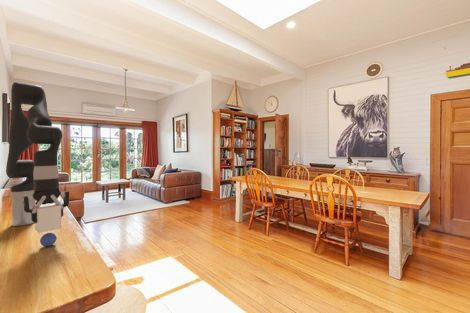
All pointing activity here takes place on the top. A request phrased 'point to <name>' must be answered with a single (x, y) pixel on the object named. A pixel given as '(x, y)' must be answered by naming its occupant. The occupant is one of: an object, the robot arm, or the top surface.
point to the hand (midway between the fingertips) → (47, 220)
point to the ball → (48, 239)
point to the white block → (48, 218)
